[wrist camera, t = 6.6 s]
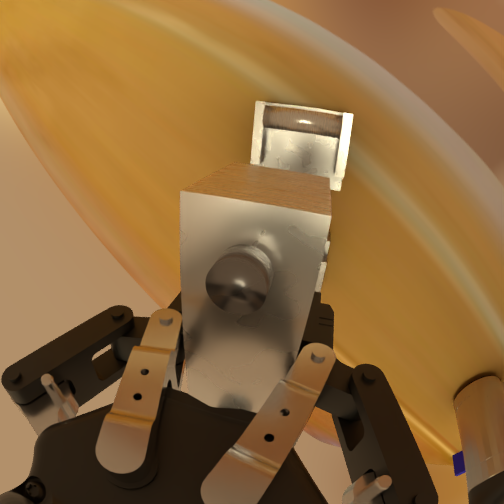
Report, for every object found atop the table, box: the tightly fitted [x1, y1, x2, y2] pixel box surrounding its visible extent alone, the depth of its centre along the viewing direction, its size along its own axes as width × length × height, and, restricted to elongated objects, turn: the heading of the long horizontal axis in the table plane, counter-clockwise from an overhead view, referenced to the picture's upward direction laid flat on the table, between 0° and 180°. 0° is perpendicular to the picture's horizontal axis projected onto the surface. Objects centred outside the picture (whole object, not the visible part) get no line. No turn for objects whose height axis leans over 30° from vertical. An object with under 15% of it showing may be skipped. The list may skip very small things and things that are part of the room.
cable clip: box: [453, 451, 466, 476], centre depth 40 cm, size 12×4×6 cm, turn 52°
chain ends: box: [250, 101, 353, 292], centre depth 27 cm, size 8×19×4 cm, turn 175°
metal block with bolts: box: [180, 162, 332, 413], centre depth 12 cm, size 4×12×6 cm, turn 174°
